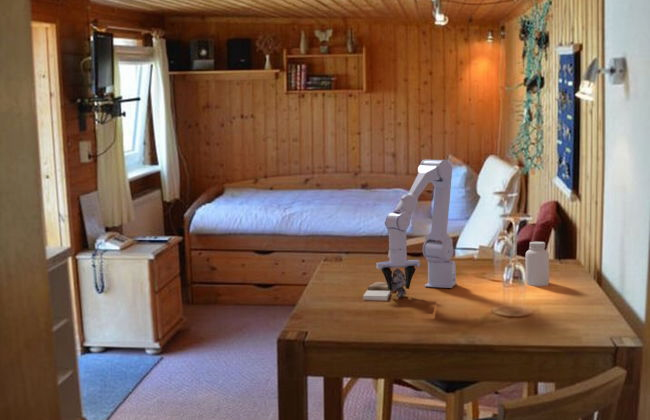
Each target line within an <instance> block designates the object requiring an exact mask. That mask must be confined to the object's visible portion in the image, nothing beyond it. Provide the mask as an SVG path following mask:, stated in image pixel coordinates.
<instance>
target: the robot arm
mask: <svg viewBox="0 0 650 420" xmlns="http://www.w3.org/2000/svg"><path fill="white" fill-rule="evenodd" d="M452 177H453V165H452V164H451V163H450V162H449V160H447V159H428V158H424V159H423V160H422V161H421V162H420V164H419V165H418V167H417V175H416V177H415V179H414V181H413V183H412V185H411V188H410V189H409V192H408V193H406V194H403V195H402V196H400V197H401V198H400V199H399V202H398V203H397V205H396V207H395V208H394V209H393V211H392V212H390V213H389V214H387V216H386V218H385V221H384V226H385V228H386V229H387V235H388V245H389V246H388V249H389V250H388V252H389V258H388V259H389V260H387V261H380V262H376V263H375V266H376V269H377V270H381V272H382V274H383V276H384V278H385V282H387V285H388V289H389V290H392V282H391V279H392V277H393V271H392V269H397V268H398V269H399V268H404V275H405V280H406V282H407V283H406V285H405V286H404V287H405V289H407V290H409V289H410V287H411V282H412V278H413V276H414V274H415V273H416V270H417V269H416V267H421V261H420V260H419V259H413V260H412V259H408V257H407V256H408V255H407V230H408V228H409V227H410V225H411V219H412V215H413V213H414V212H415V210H416V208H417V206H418V204H419V201H418V198H419V197H420V195H421V194H422V193H423V191H424V190H425V188H426V187H427V186H428V184H429V183H431V184H432V185H433V187H434V194H433V195H434V196H433V197H434V198H433V206H432V208H433V209H432V217H431V218H432V219H431V229H430V233H428V234H427V235H426V236H425V237H424V240H425V241H424V242H423V245H422V254H423V256H424V257H425V260H426V261H427V283H425V284H424V287H427V288H443V289H444V288H445V289H448V288H449V289H452V288H454V286H455V285H456V284H457V278H456V276H457V275H456V274H457V273H456V272H457V271H456V268H457V267H456V261H454V260H451V259H452V257H453V256H454V253H455V252H454V246H453V238H452V237H451V236H450V235H449V234H448V224H449V223H448V222H449V213H450V201H451V192H452V191H451V189H452Z"/></svg>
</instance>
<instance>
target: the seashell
mask: <svg viewBox="0 0 650 420" xmlns="http://www.w3.org/2000/svg"><path fill="white" fill-rule="evenodd" d="M391 282H392V288H393V289H396V290H395V291H396V292H397V294H396V298H399V299H400V298H402V297H406V295H407V291H406V288H404V287H405V285H406V283H407V282H406V280H405V273H404V272H403V271H402V270H401V269H399V268H395V269H394V270H393V271H392V279H391Z"/></svg>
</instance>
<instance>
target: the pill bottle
mask: <svg viewBox="0 0 650 420" xmlns="http://www.w3.org/2000/svg"><path fill="white" fill-rule="evenodd" d="M524 264H525V282H526V281H527V284H526V285H528V286H531V287H547V286H549V284H550V253H549V251H547V250H546V242H545V241H530V242H529V249H528V250H527V251H526V252H525V263H524Z"/></svg>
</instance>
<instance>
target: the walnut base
mask: <svg viewBox="0 0 650 420" xmlns="http://www.w3.org/2000/svg"><path fill="white" fill-rule="evenodd" d="M367 290H370V291H390V294H391V293H394V292H395V291H397V290H396V289H393V288H392V290H389V289H388V285H387V282H386V281H375V282H373V283H372V284H370V285H368V286H367Z"/></svg>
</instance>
